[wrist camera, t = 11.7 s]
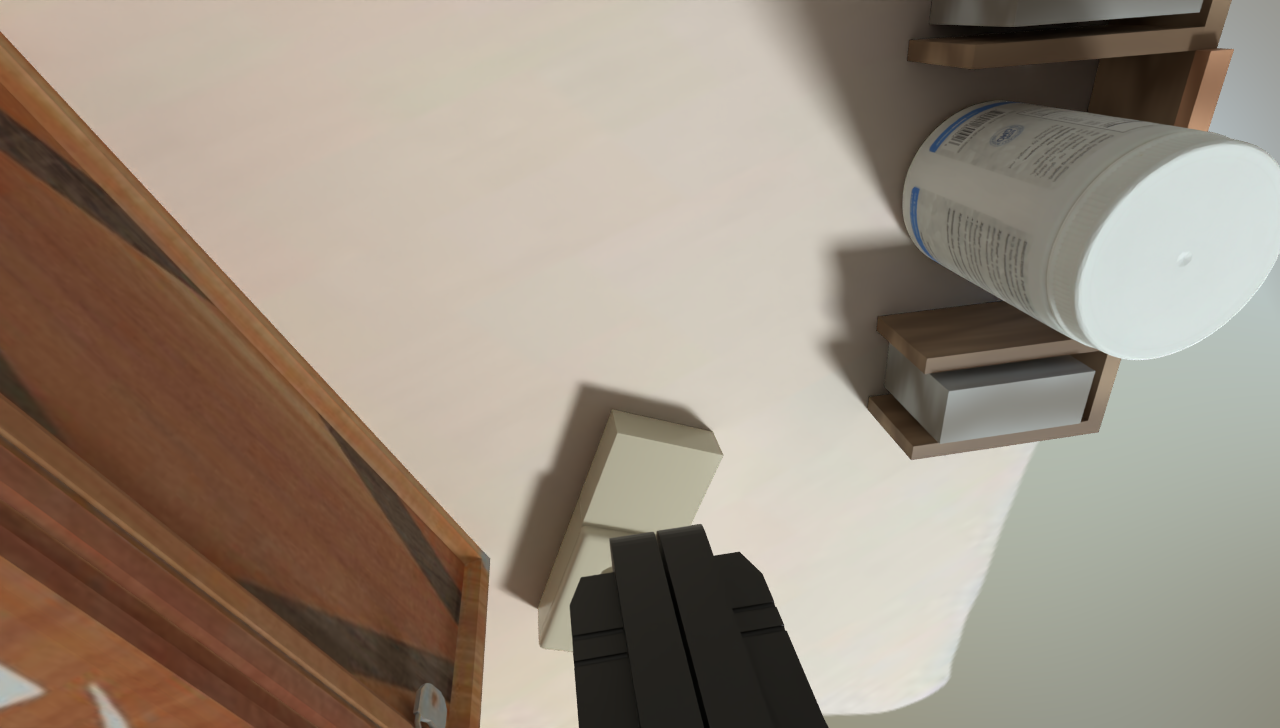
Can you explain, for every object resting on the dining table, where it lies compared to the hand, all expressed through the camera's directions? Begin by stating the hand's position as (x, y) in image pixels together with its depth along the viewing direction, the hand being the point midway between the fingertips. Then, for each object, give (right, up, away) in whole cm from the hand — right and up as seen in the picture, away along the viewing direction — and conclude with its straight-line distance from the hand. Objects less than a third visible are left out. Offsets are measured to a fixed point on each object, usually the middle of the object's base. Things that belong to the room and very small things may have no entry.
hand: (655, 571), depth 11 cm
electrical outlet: (-2, -8, +38) cm, 38 cm away
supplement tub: (+19, +14, +29) cm, 38 cm away
